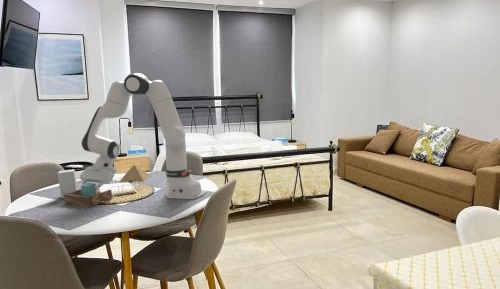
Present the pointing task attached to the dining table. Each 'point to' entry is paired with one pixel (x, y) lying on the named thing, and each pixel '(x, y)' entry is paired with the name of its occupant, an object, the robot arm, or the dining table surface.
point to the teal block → (88, 189)
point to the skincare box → (67, 181)
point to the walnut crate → (86, 198)
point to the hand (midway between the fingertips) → (89, 188)
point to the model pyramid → (135, 175)
